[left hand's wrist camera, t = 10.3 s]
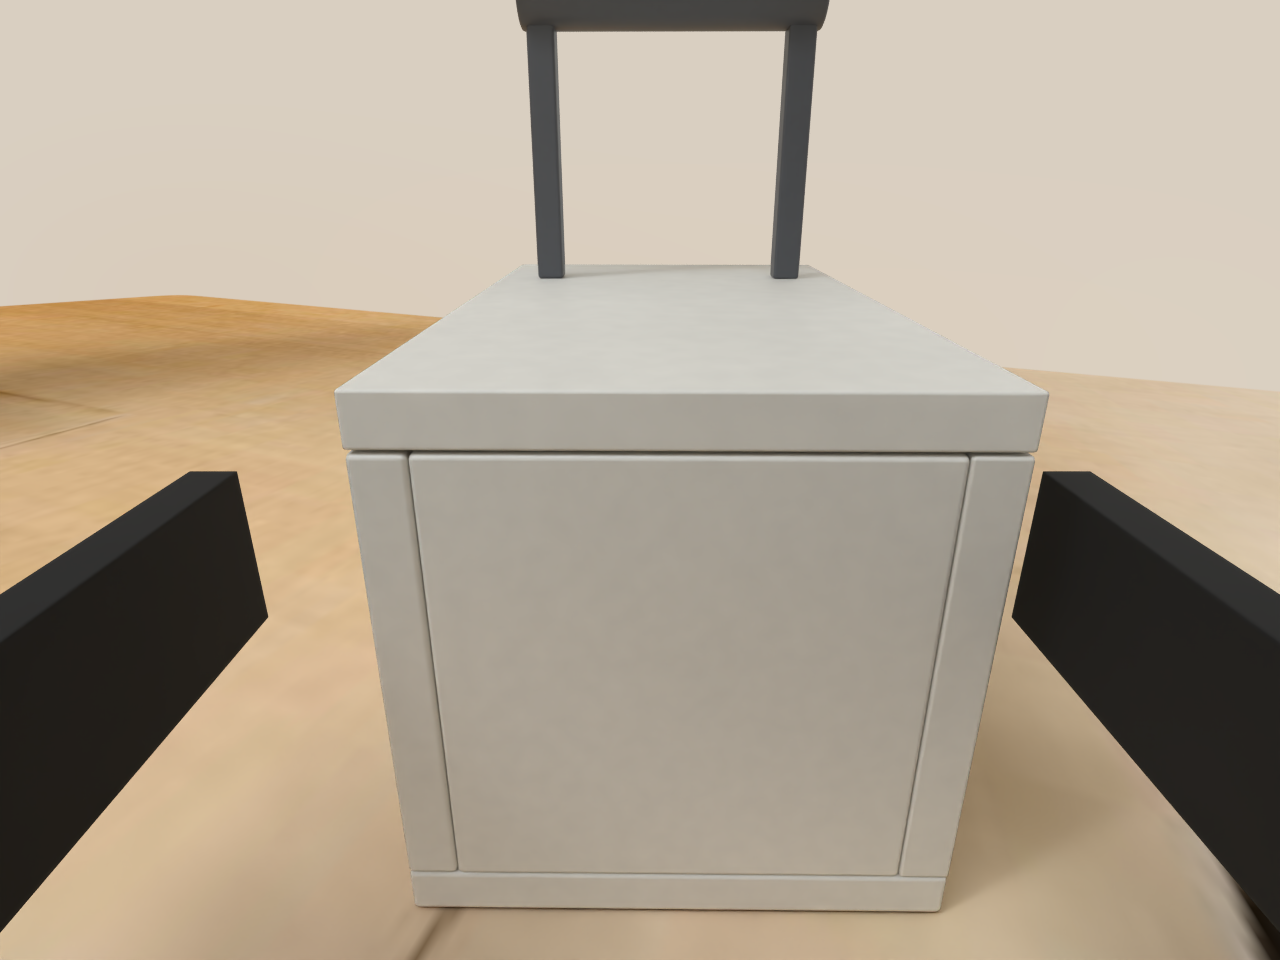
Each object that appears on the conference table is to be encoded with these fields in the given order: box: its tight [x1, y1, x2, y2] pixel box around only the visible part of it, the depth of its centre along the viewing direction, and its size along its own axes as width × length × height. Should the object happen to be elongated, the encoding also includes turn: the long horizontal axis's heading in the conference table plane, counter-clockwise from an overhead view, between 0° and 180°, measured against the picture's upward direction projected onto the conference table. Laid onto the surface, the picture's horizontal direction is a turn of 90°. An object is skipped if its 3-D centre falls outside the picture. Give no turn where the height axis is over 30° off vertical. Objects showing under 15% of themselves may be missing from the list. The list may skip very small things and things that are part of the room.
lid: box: [334, 0, 1049, 452], centre depth 16 cm, size 16×9×9 cm, turn 0°
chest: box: [346, 450, 1035, 912], centre depth 19 cm, size 15×9×9 cm, turn 0°
